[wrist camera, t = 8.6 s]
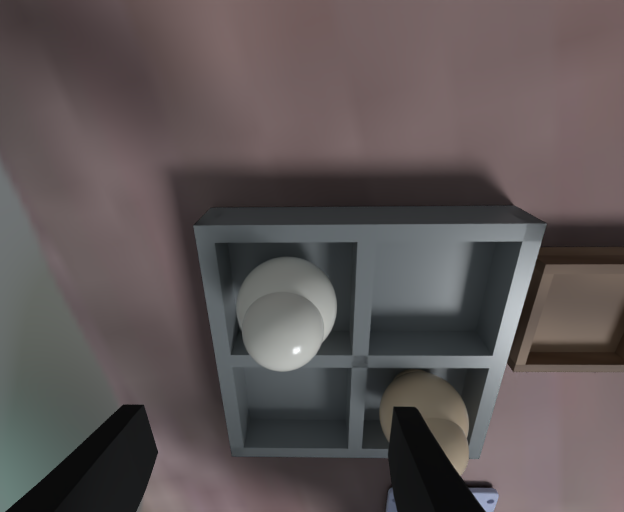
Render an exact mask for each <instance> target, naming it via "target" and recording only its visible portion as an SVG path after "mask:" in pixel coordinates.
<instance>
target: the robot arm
mask: <svg viewBox="0 0 624 512" xmlns="http://www.w3.org/2000/svg"><path fill="white" fill-rule="evenodd" d="M157 454H158V450H157V447H156V444H155V440H154V437H153V434H152V430H151V427H150V424H149V420H148V417H147V414H146V410H145V407H144V405H122V406H121V407H120V408H119V409H118V410H117V411H116V412H115V413H114V414H113V415H111V416H110V417H109V418H108V419H107V420H106V421H105V422H104V423H103V424H102V425H101V426H100V427H99V428H98V429H97V430H95V431H94V432H93V433H92V434H91V435H90V436H89V437H88V438H87V439H86V440H85V441H84V442H83V443H82V444H81V445H80V446H78V447H77V449H75V450H74V451H73V452H72V453H71V454H70V455H69V456H68V457H67V458H65V459H64V460H63V461H62V462H61V463H60V464H59V465H58V466H57V467H56V468H55V469H53V470H52V471H51V472H50V473H49V474H48V475H47V476H46V477H45V478H44V479H42V480H41V481H40V482H39V483H38V484H37V485H36V486H34V487H33V488H32V489H31V490H30V491H29V492H28V493H26V494H25V495H24V496H23V497H22V498H21V499H19V500H18V501H17V502H16V503H15V504H14V505H13V506H11V507H10V508H9V509H8V510H7V511H6V512H136V511H137V509H138V506H139V504H140V502H141V500H142V497H143V495H144V493H145V490H146V487H147V484H148V482H149V479H150V476H151V473H152V470H153V467H154V464H155V460H156V457H157ZM388 460H389V467H390V475H391V482H392V488H390V489H389V491H388V497H387V505H386V512H494V509H495V506H496V503H497V500H498V497H499V495H498V493H497V491H496V489H494V488H468V486H467V485H466V484H465V482H464V481H463V479H462V478H461V476H460V475H459V473H458V472H457V471H456V469H455V468H454V466H453V465H452V463H451V462H450V460H449V459H448V457H447V456H446V454H445V453H444V451H443V450H442V448H441V446H440V445H439V443H438V442H437V440H436V439H435V437H434V435H433V434H432V432H431V430H430V429H429V427H428V426H427V424H426V422H425V420H424V419H423V417H422V415H421V413H420V412H419V410H418V409H417V408H416V407H395V406H393V415H392V423H391V432H390V440H389V449H388Z"/></svg>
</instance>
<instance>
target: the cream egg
mask: <svg viewBox="0 0 624 512" xmlns="http://www.w3.org/2000/svg"><path fill="white" fill-rule="evenodd" d="M336 313H337V300H336V295H335V291H334V288H333V286H332V284H331V282H330V280H329V279H328V277H327V276H326V275H325V273H324V272H323V271H322V270H321V269H320V268H318V267H317V266H316V265H314V264H313V263H311V262H309V261H307V260H304V259H301V258H297V257H288V256H285V257H277V258H273V259H270V260H267V261H265V262H263V263H261V264H260V265H258V266H257V267H256V268H254V269H253V270H252V271H251V272H250V273H249V274H248V276H247V277H246V278H245V280H244V281H243V283H242V285H241V287H240V289H239V293H238V296H237V302H236V314H237V319H238V323H239V326H240V328H241V330H242V337H243V342H244V345H245V348H246V350H247V351H248V353H249V355H250V356H251V357H252V358H253V359H254V360H255V361H256V362H257V363H258V364H260V365H261V366H263V367H265V368H267V369H269V370H273V371H279V372H286V371H292V370H295V369H298V368H300V367H302V366H304V365H305V364H307V363H308V362H309V361H310V360H311V359H312V358H313V357H314V356H315V355H316V353H317V352H318V350H319V348H320V346H321V344H322V342H323V341H324V340H325V339H326V338H327V337H328V335H329V333H330V332H331V330H332V328H333V325H334V322H335V319H336Z"/></svg>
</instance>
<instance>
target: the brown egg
mask: <svg viewBox="0 0 624 512" xmlns="http://www.w3.org/2000/svg"><path fill="white" fill-rule="evenodd" d="M393 406H395V407H416V408H417V409H418V410H419V412H420V413H421V415H422V417H423V419H424V420H425V422H426V424H427V426H428V427H429V429H430V430H431V432H432V434H433V435H434V437H435V439H436V440H437V442H438V443H439V445H440V446H441V448H442V450H443V451H444V453H445V454H446V456H447V457H448V459H449V460H450V462H451V463H452V465H453V466H454V468H455V469H456V471H457V472H458V473H459V475H460V476H461V475H462V474H463V473H464V471H465V469H466V467H467V464H468V460H469V446H468V441H467V436H468V430H469V418H468V413H467V409H466V406H465V404H464V402H463V400H462V398H461V396H460V395H459V393H458V392H457V391H456V389H455V388H454V387H453V386H452V385H451V384H450V383H448V382H447V381H446V380H444V379H443V378H441V377H439V376H437V375H434V374H432V373H428V372H426V371H424V370H421V369H408V370H404V371H402V372H400V373H399V374H398V375H396V377H395V378H394V379H393V381H392V382H391V383H390V384H389V385H388V387H387V388H386V389H385V391H384V393H383V395H382V398H381V402H380V408H379V417H380V423H381V427H382V430H383V433H384V435H385V437H386V439H387V440H388V442H389V440H390V432H391V423H392V415H393Z"/></svg>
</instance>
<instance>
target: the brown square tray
mask: <svg viewBox="0 0 624 512" xmlns="http://www.w3.org/2000/svg"><path fill="white" fill-rule="evenodd" d="M507 363H508V365H509V366H510V368H511V369H512V371H513V372H624V247H540V249H539V253H538V256H537V259H536V263H535V266H534V270H533V273H532V277H531V280H530V284H529V287H528V291H527V294H526V298H525V301H524V305H523V308H522V312H521V315H520V319H519V322H518V326H517V329H516V333H515V336H514V339H513V343H512V346H511V350H510V353H509V357H508V360H507Z"/></svg>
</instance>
